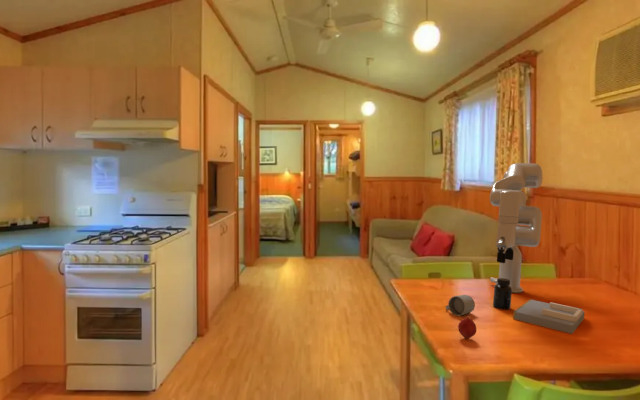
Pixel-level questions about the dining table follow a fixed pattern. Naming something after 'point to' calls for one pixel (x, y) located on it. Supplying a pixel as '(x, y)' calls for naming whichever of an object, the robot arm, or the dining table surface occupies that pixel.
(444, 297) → the dining table surface
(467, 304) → the ceramic mug
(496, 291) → the supplement bottle
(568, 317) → the dock
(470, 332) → the onion
